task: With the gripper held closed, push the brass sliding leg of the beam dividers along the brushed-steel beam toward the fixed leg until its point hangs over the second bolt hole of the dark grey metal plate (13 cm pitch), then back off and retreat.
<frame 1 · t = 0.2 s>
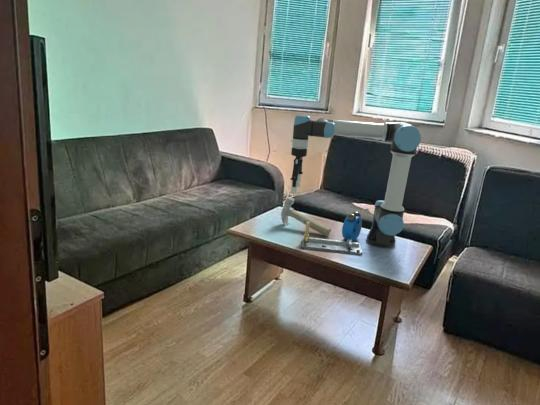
hand: (295, 189, 221), 28 cm above the table, fingers open, 13 cm apart
hammer: (304, 230, 248), on the table
alarm clock: (350, 239, 240), on the table
sliding leg: (307, 232, 225), point 6 cm above the table, slide at 0.0 cm
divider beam: (331, 245, 228), resting on bolt plate
bolt plate: (331, 247, 225), on the table
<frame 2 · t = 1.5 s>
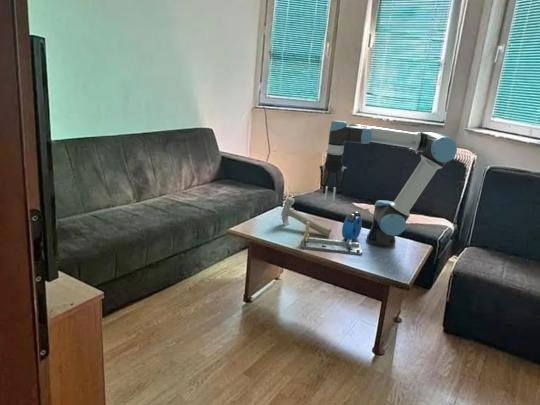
hand: (329, 200, 219), 25 cm above the table, fingers open, 3 cm apart
nothing on the table moved.
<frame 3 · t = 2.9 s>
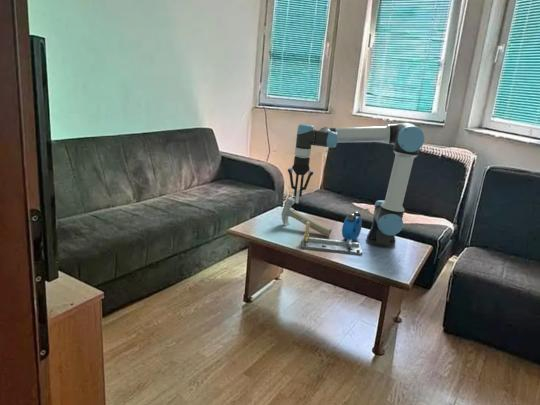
hand: (296, 202, 224), 21 cm above the table, fingers closed
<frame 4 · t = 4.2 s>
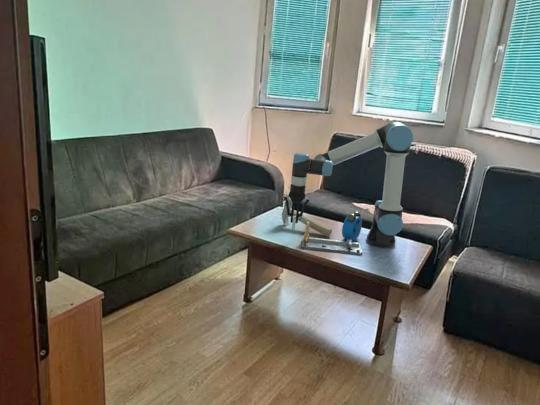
hand: (293, 228, 228), 7 cm above the table, fingers closed
nothing on the table moved.
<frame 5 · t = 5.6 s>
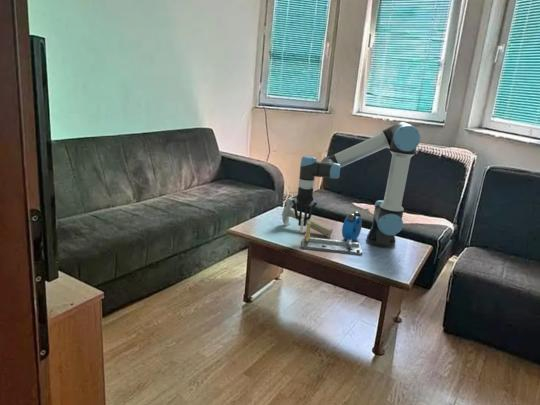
hand: (301, 231, 228), 6 cm above the table, fingers closed
sliding leg: (308, 232, 225), point 6 cm above the table, slide at 0.5 cm, touching gripper
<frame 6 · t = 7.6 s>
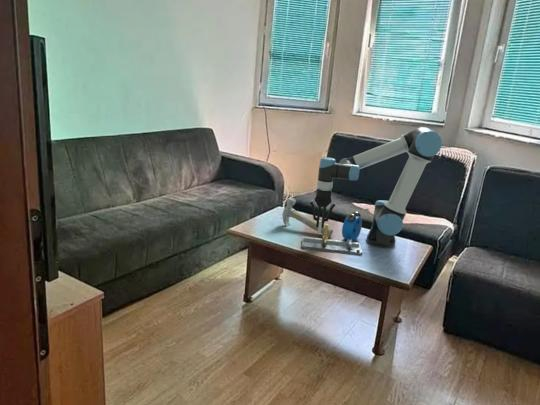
hand: (319, 233, 227), 6 cm above the table, fingers closed
sliding leg: (325, 234, 225), point 6 cm above the table, slide at 9.5 cm, touching gripper
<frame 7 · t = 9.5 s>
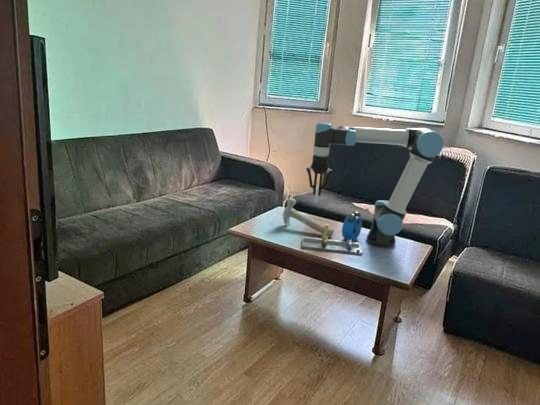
hand: (315, 201, 223), 22 cm above the table, fingers closed
sliding leg: (325, 234, 225), point 6 cm above the table, slide at 9.5 cm
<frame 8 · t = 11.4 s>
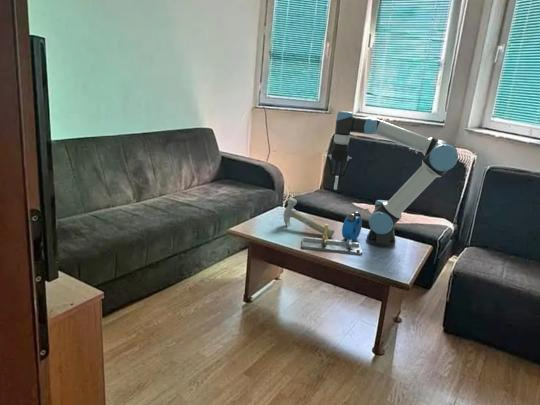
hand: (335, 188, 227), 28 cm above the table, fingers closed
at the end: sliding leg slide at 9.5 cm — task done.
